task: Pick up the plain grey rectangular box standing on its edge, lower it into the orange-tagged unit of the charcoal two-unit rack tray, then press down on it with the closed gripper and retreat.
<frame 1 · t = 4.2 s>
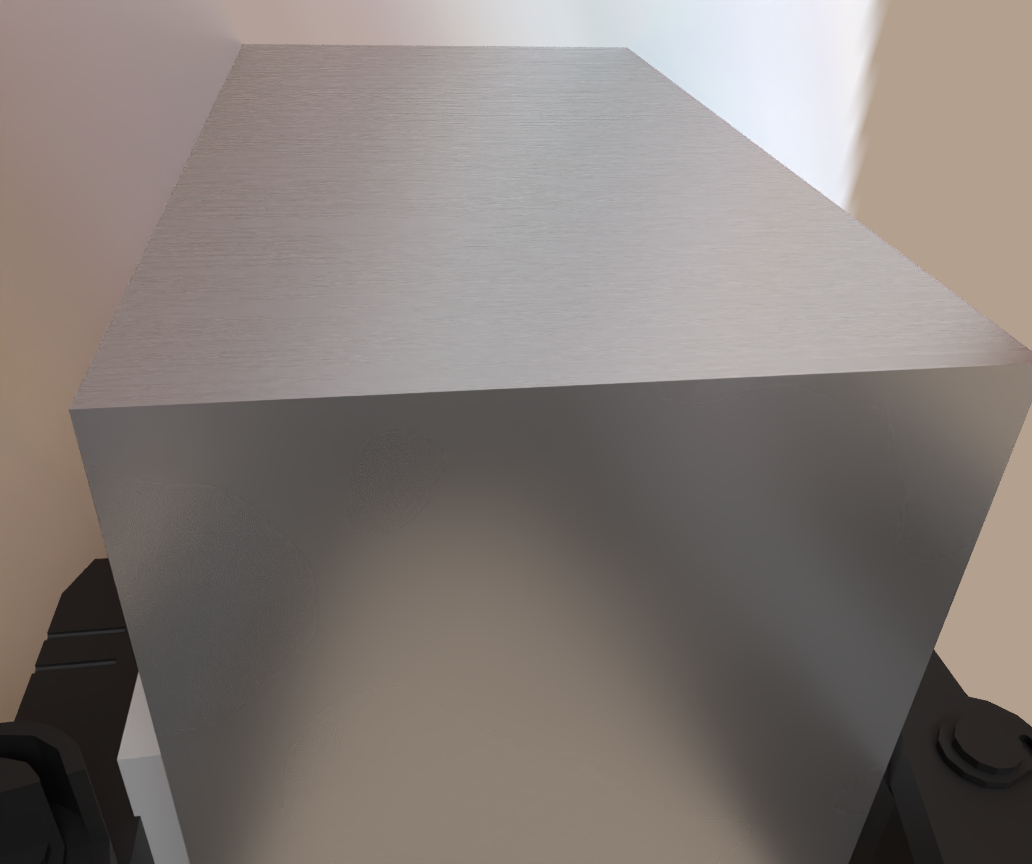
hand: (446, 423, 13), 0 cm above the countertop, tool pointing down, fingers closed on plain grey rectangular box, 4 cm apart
plain grey rectangular box: (443, 409, 13), on the countertop, touching gripper
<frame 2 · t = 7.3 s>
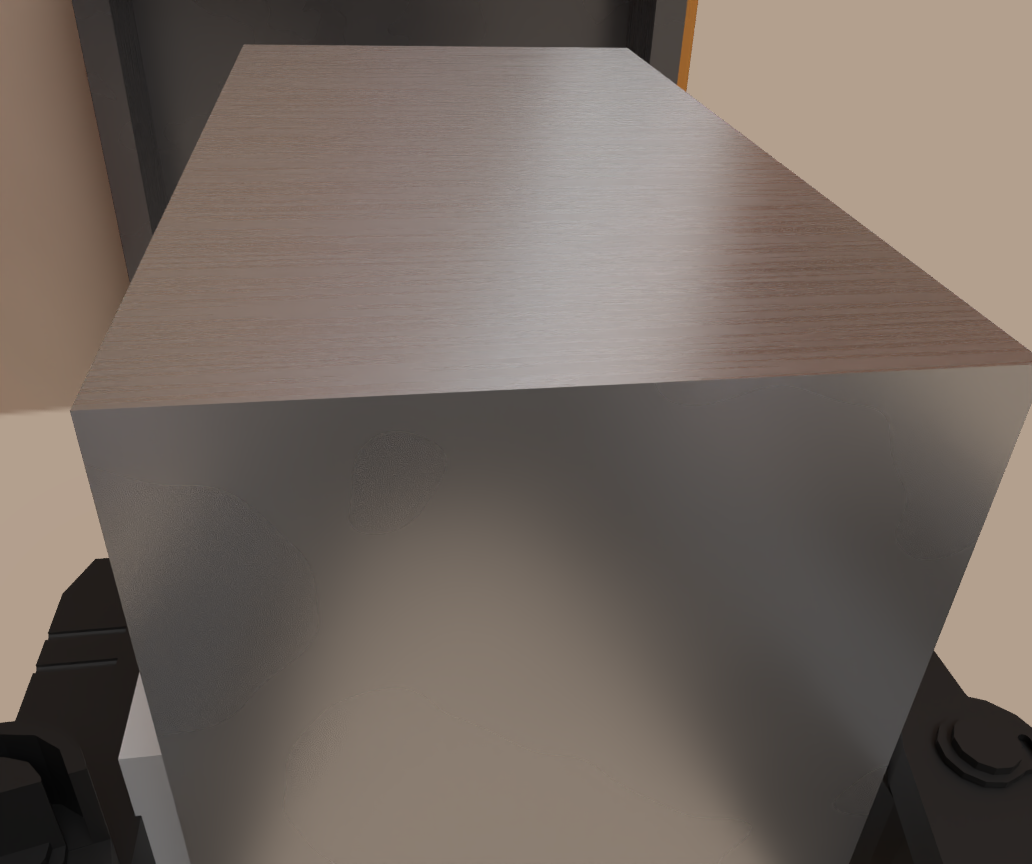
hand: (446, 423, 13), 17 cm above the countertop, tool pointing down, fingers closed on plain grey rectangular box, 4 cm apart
plain grey rectangular box: (444, 409, 13), point 16 cm above the countertop, touching gripper
rack tray: (400, 330, 31), on the countertop
when the fingers open (2 cm above the countertop, at t = 10.5 s): plain grey rectangular box stays where it is, resting on rack tray.
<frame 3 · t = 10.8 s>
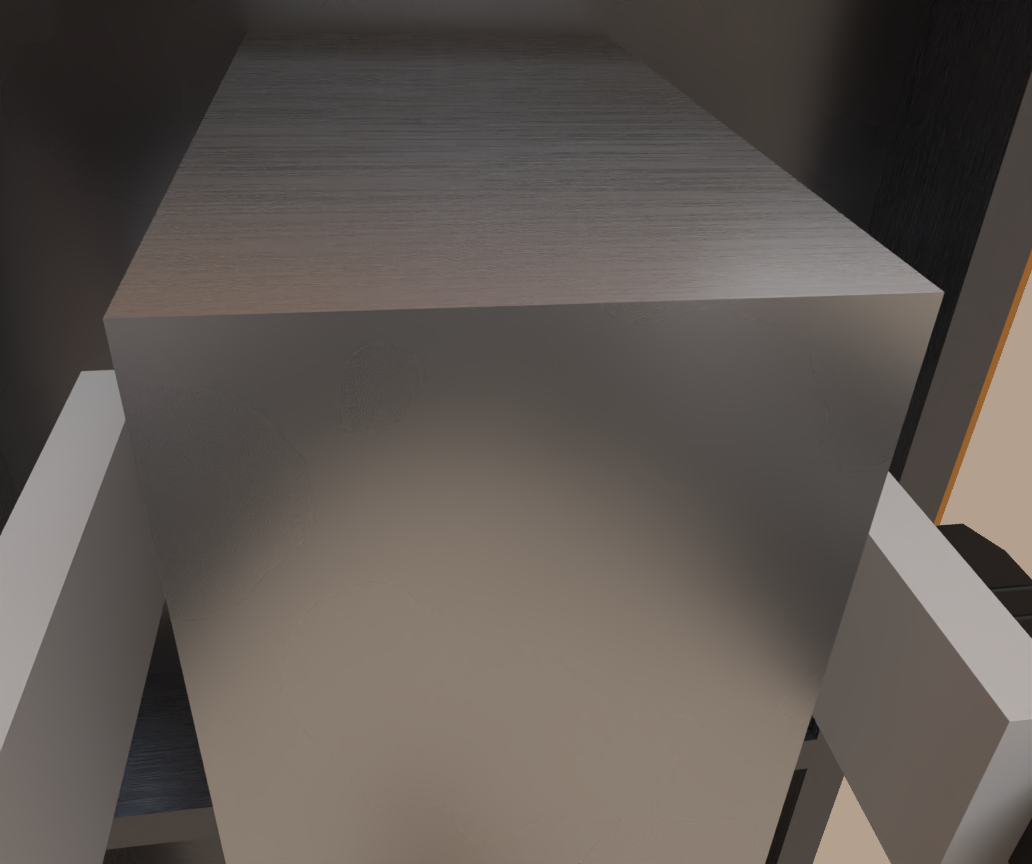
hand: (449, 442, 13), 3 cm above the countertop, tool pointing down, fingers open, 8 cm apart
plain grey rectangular box: (436, 382, 14), point 1 cm above the countertop, touching rack tray
rack tray: (438, 645, 19), on the countertop
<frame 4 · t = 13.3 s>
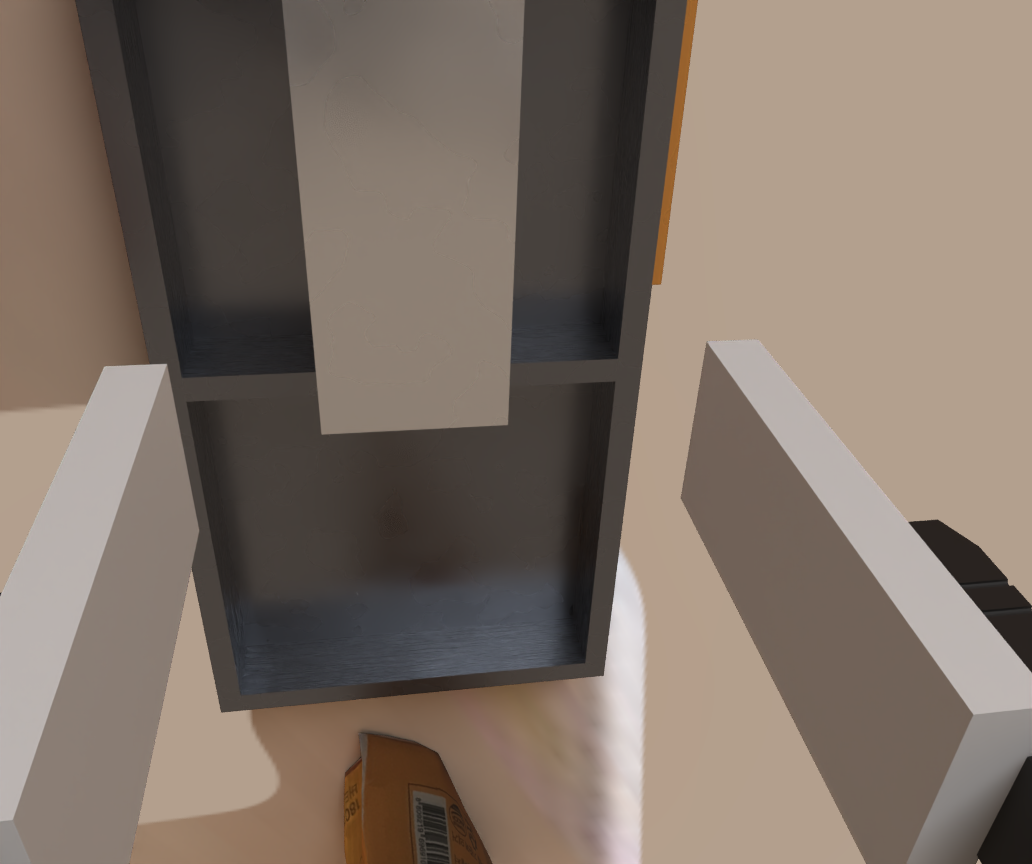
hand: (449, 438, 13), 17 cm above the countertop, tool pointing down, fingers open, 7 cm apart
plain grey rectangular box: (394, 131, 26), point 1 cm above the countertop, touching rack tray
rack tray: (402, 328, 31), on the countertop
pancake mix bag: (436, 819, 46), on the countertop
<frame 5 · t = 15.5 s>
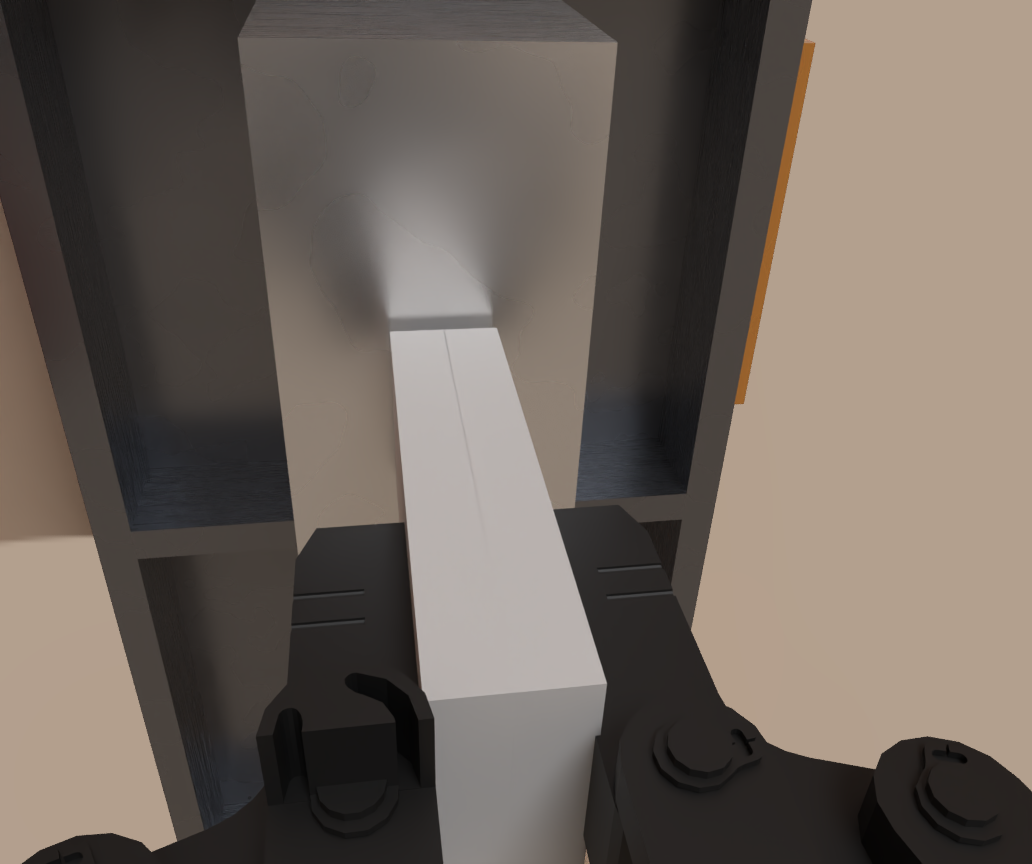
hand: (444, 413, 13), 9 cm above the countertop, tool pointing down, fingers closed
plain grey rectangular box: (405, 215, 20), point 1 cm above the countertop, touching gripper, rack tray
rack tray: (412, 444, 25), on the countertop
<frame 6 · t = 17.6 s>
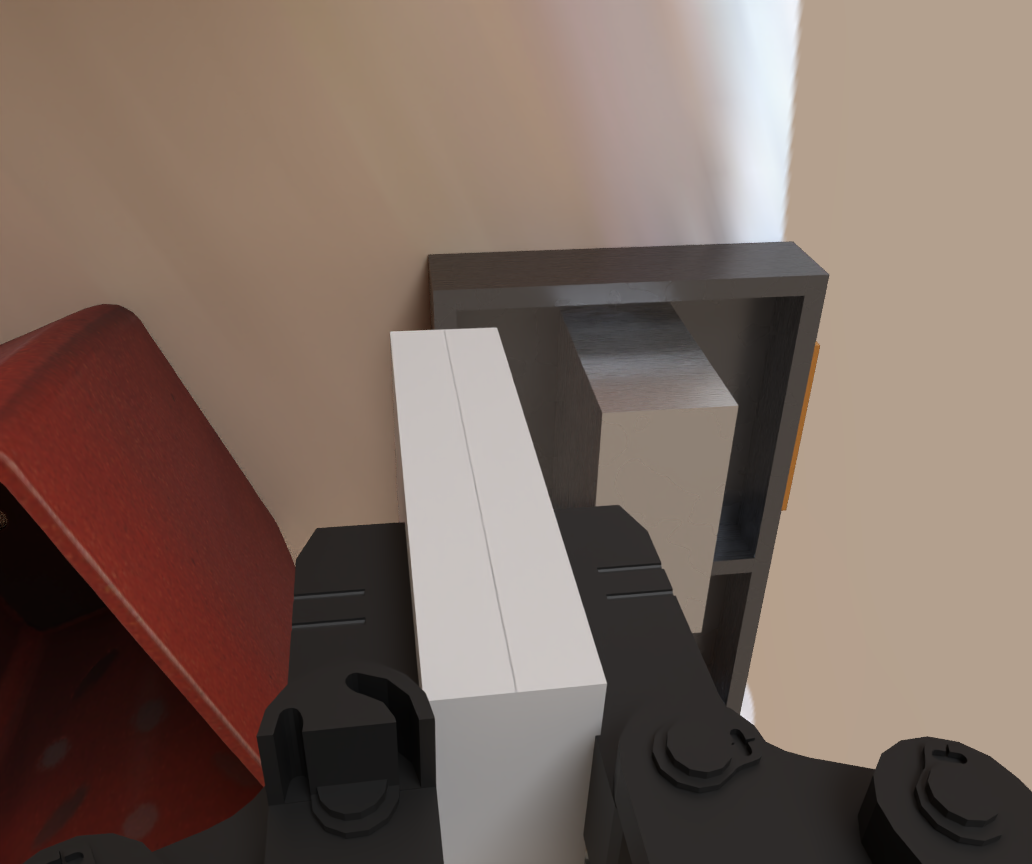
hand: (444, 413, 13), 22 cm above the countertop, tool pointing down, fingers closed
plain grey rectangular box: (607, 416, 39), point 1 cm above the countertop, touching rack tray
rack tray: (594, 527, 43), on the countertop
plant pot: (73, 473, 38), on the countertop
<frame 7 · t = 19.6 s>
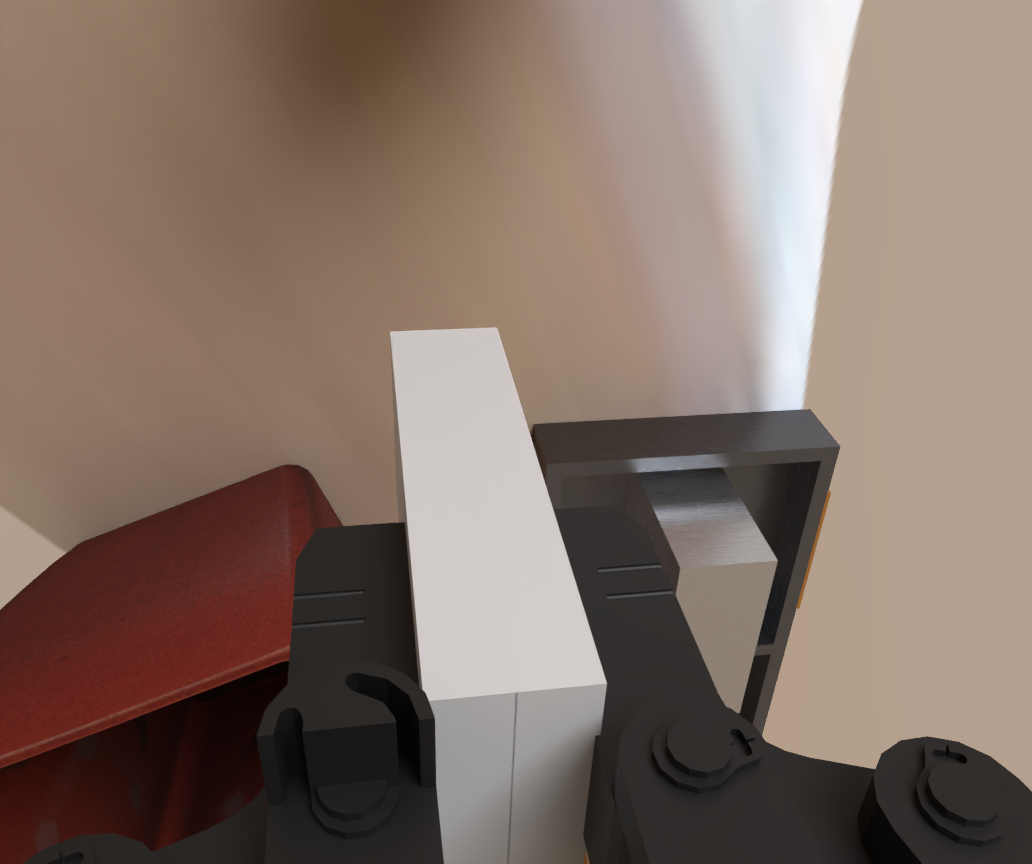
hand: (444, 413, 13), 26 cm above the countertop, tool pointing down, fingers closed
plain grey rectangular box: (663, 537, 50), point 1 cm above the countertop, touching rack tray
rack tray: (645, 615, 54), on the countertop
plant pot: (243, 583, 48), on the countertop
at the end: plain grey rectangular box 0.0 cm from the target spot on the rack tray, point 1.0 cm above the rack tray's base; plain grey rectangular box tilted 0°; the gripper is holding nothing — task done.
